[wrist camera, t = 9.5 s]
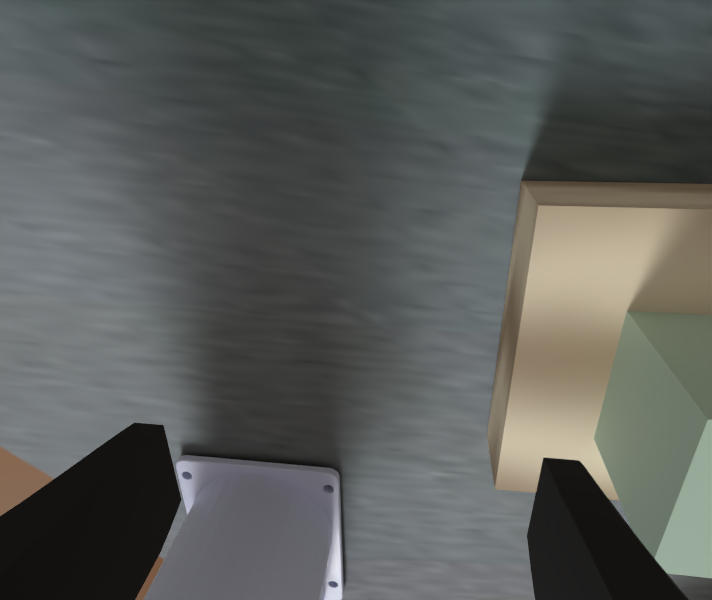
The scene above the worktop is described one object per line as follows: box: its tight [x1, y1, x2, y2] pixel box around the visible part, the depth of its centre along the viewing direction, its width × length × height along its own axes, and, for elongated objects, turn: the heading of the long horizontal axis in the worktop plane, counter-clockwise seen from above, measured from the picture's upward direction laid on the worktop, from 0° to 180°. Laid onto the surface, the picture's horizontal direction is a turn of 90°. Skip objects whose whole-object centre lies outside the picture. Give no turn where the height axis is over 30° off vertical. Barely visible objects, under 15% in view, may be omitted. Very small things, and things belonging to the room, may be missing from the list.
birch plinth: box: [487, 181, 712, 500], centre depth 17 cm, size 11×11×3 cm
